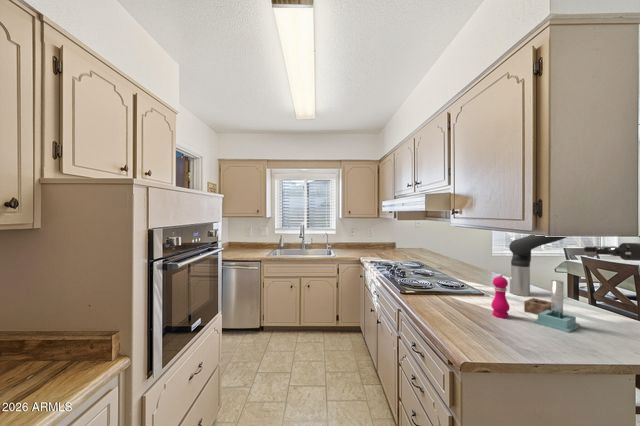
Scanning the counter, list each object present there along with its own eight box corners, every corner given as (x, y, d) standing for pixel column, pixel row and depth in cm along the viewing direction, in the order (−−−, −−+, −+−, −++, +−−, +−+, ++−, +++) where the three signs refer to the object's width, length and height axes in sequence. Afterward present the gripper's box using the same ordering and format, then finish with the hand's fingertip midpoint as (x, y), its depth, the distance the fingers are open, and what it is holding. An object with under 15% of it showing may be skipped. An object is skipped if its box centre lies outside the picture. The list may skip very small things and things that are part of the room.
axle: (549, 321, 121) (549, 280, 121) (552, 319, 123) (553, 279, 123) (560, 324, 117) (561, 282, 117) (564, 322, 120) (565, 281, 119)
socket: (534, 322, 122) (534, 313, 122) (545, 317, 128) (545, 308, 128) (568, 332, 112) (568, 322, 112) (579, 326, 118) (579, 317, 118)
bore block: (524, 311, 137) (524, 301, 137) (533, 307, 142) (533, 298, 142) (549, 317, 128) (549, 306, 128) (557, 313, 133) (557, 303, 133)
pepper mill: (489, 316, 130) (489, 273, 130) (493, 312, 135) (493, 271, 136) (508, 320, 125) (507, 276, 125) (510, 315, 131) (510, 273, 131)
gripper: (625, 241, 126) (581, 240, 131) (651, 244, 112) (600, 243, 117) (625, 258, 125) (581, 256, 131) (651, 263, 112) (600, 261, 117)
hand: (590, 250), depth 124 cm, fingers open, 8 cm apart
